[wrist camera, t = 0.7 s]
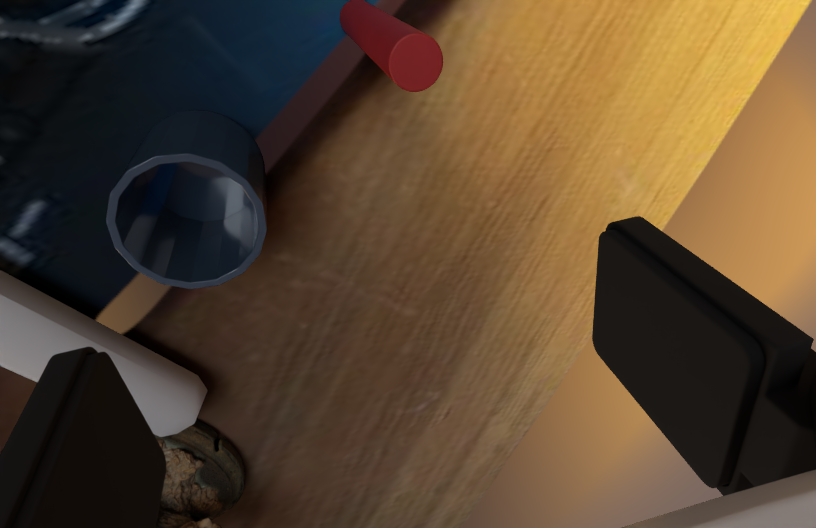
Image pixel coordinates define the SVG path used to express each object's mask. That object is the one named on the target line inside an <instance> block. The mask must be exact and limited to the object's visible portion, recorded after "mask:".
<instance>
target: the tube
mask: <svg viewBox="0 0 816 528" xmlns="http://www.w3.org/2000/svg"><path fill="white" fill-rule="evenodd" d="M88 346H89V347H93V348H94V349H95V350H96V351H97V352H98V353H99V352H106V353H107V354H108V355H109V356H110V357H111V359H112V361H113V363H114V364H115V366H116V368H117V370H118V372H119V373H120V375H121V377H122V379H123V380H124V382H125V384H126V386H127V388H128V389H129V391H130V393H131V395H132V396H133V398H134V400H135V402H136V404H137V405H138V407H139V409H140V411H141V413H142V414H143V416H144V418H145V420H146V421H147V423H148V425H149V427H150V429H151V430H152V432H153V434H155V435H157V436H159V437H164V436H169V435H173V434H177V433H179V432H181V431H182V430H184V429H186V428H188V427H189V426H191V425H193V424H194V423H195V421H196V418H197V416H198V413H199V411H200V408H201V406H202V403H203V401H204V398H205V396H206V393H207V391H208V390H207V388H206V387H205V385H204V384H203V382H202V381H201V379H200V378H199V376H198V375H196V374H194V373H192V372H190V371H189V370H187V369H185V368H183V367H181V366H179V365H177V364H175V363H174V362H172V361H170V360H168V359H166V358H164V357H162V356H160V355H159V354H157V353H155V352H153V351H151V350H149V349H147V348H145V347H144V346H142V345H140V344H138V343H136V342H134V341H132V340H130V339H129V338H127V337H125V336H123V335H121V334H119V333H117V332H115V331H114V330H111V329H110V328H108V327H106V326H104V325H102V324H101V323H99V322H97V321H95V320H93V319H91V318H89V317H87V316H86V315H84V314H82V313H80V312H78V311H76V310H74V309H72V308H71V307H69V306H67V305H65V304H63V303H61V302H59V301H57V300H56V299H54V298H52V297H50V296H48V295H46V294H44V293H43V292H41V291H39V290H37V289H35V288H33V287H31V286H29V285H28V284H26V283H24V282H22V281H20V280H18V279H16V278H14V277H13V276H11V275H9V274H7V273H5V272H3V271H1V270H0V366H2V367H4V368H6V369H9V370H11V371H13V372H15V373H18V374H20V375H22V376H24V377H27V378H29V379H31V380H33V381H36V382H38V381H39V379H40V377H41V375H42V373H43V371H44V369H45V367H46V365H47V363H48V361H49V360H50V358H51V357H52V356H53V355H55V354H59V353H63V352H67V351H71V350H76V349H80V348H84V347H88Z"/></svg>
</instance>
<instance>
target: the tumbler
mask: <svg viewBox="0 0 816 528" xmlns="http://www.w3.org/2000/svg"><path fill="white" fill-rule="evenodd" d="M106 223H107V226H108V229H109V232H110V235H111V238H112V241H113V244H114V247H115V248H116V250H117V251H118V252H119V253H120V254H121V255H122V256H123V257H124V258H125V260H126V261H127V262H128V263H129V264H130V265H131V266H132V267H133V268H134V269H135V270H136V271H138V272H140V273H142V274H144V275H146V276H148V277H149V278H151V279H153V280H156V281H157V282H159V283H162V284H165V285H171V286H176V287H182V288H187V289H195V288H203V287H210V286H218V285H221V284H223V283H225V282H227V281H229V280H231V279H233V278H235V277H237V276H238V275H240V274H242V273H244V272H245V271H246V269H247V268H248V267H249V266H250V265H251V264H252V263H253V261H254V260H255V259H256V258H257V257H258V256H259V254H260V253H261V249H262V246H263V242H264V239H265V235H266V232H267V204H266V174H265V167H264V161H263V156H262V154H261V151H260V149H259V147H258V145H257V143H256V142H255V140H254V139H253V137H252V136H251V135H250V134H249V133H248V132H247V131H246V130H245V129H244V128H243V127H242V126H241V125H239V124H238V123H236V122H235V121H233V120H232V119H230V118H228V117H226V116H223V115H221V114H218V113H215V112H210V111H204V110H188V111H182V112H178V113H174V114H172V115H170V116H167V117H166V118H164V119H162V120H161V121H159V122H158V123H157V124H156V125H154V126H153V127H152V129H151V130H150V131H149V132H148V134H147V135H146V137H145V138H144V139H143V141H142V142H141V143H140V145H139V147H138V148H137V150H136V152H135V153H134V155H133V157H132V158H131V160H130V161H129V163H128V165H127V166H126V168H125V170H124V171H123V173H122V175H121V176H120V178H119V179H118V181H117V183H116V184H115V186H114V188H113V189H112V191H111V193H110V196H109V202H108V209H107V216H106Z"/></svg>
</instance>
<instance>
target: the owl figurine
mask: <svg viewBox="0 0 816 528" xmlns="http://www.w3.org/2000/svg"><path fill="white" fill-rule="evenodd" d="M154 436H155V437H156V439H157V441H158V443H159V445H160V446H161V448H162V450H163V452H164V455H165V459H166V475H165V480H164V486H163V491H162V496H161V502H160V507H159V513H158V518H157V523H156V528H221V526H220V525H219V524H216V523H212V522H211V520H212V519H214V518H216V517H218V516H220V515H221V514H223V513H225V512H226V511H227V510H229V509H230V508H232V507H233V506H234V505H235V504H236V503H237V501H238V500H239V499H240V497H241V495H242V493H243V488H244V481H245V477H244V476H245V474H244V472H245V471H244V467H243V462H242V459H241V458H240V456H239V454H238V452H237V451H236V450H235V449H234V448H233V447H232V446H231V445H230V444H229V443H228V441H227V440H226V439H225V438H224V437H223V438H220V441H219V451H218V452H215V447H214V440H215V439H217V436H218V435H217V433H216V432H215V431H214V430H213V429H212V428H210V427H209V426H208V425H206V424H204V423H202V422H200V421H198V420H196V421H195V423H194V424H193V425H191V426H189V427H188V428H186V429H184V430H182V431H181V432H179V433H177V434H173V435H169V436H164V437H159V436H157V435H155V434H154Z"/></svg>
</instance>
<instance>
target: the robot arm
mask: <svg viewBox="0 0 816 528" xmlns="http://www.w3.org/2000/svg"><path fill="white" fill-rule="evenodd" d="M592 339H593V344H594V347H595V350H596V352H597V353H598V355H599V356H600V357H601V359H602V360H603V361H604V362H605V364H606V365H607V366H608V367H609V368H610V370H611V371H612V372H613V373H614V374H615V375H616V377H617V378H618V379H619V381H620V382H621V383H622V384H623V385H624V387H625V388H626V389H627V390H628V391H629V393H630V394H631V395H632V396H633V397H634V399H635V400H636V401H637V402H638V403H639V404H640V406H641V407H642V408H643V410H644V411H645V412H646V413H647V414H648V416H649V417H650V418H651V419H652V421H653V422H654V423H655V424H656V425H657V427H658V428H659V429H660V430H661V431H662V433H663V434H664V435H665V436H666V438H667V439H668V440H669V441H670V442H671V444H672V445H673V446H674V447H675V448H676V450H677V451H678V452H679V453H680V455H681V456H682V457H683V458H684V459H685V461H686V462H687V463H688V464H689V465H690V467H691V468H692V469H693V470H694V472H695V473H696V474H697V475H698V476H699V478H700V479H701V480H702V481H703V482H704V483H705V484H706V485H707V486H709V487H711V488H717V489H718V490H719V491H720V492H721V494H722V495H723V496H722V497H719V498H715V499H712V500H709V501H706V502H703V503H700V504H696V505H693V506H690V507H687V508H684V509H680V510H677V511H674V512H670V513H667V514H664V515H661V516H657V517H654V518H651V519H648V520H644V521H641V522H638V523H635V524H632V525H629V526H625V527H622V528H816V352H815V351H814V350H812V349H811V346H812V343H813V340H814V339H813V338H811V337H810V336H808V335H807V334H805V333H804V332H803V331H801V330H800V329H798V328H797V327H796V326H794V325H793V324H792V323H790V322H789V321H787V320H786V319H784V318H783V317H781V316H780V315H779V314H778V313H776V312H775V311H773V310H772V309H770V308H769V307H768V306H766V305H765V304H763V303H762V302H760V301H759V300H758V299H756V298H755V297H754V296H752V295H751V294H749V293H748V292H747V291H745V290H744V289H742V288H741V287H740V286H738V285H737V284H735V283H734V282H732V281H731V280H730V279H728V278H727V277H725V276H724V275H723V274H721V273H720V272H718V271H717V270H715V269H714V268H713V267H711V266H710V265H709V264H707V263H706V262H704V261H703V260H701V259H700V258H699V257H697V256H696V255H694V254H693V253H692V252H690V251H689V250H687V249H686V248H685V247H683V246H682V245H680V244H679V243H677V242H676V241H675V240H673V239H672V238H670V237H669V236H668V235H666V234H665V233H663V232H662V231H661V230H659V229H658V228H656V227H655V226H654V225H652V224H651V223H649V222H648V221H647V220H645V219H644V218H642V217H640V216H639V217H632V218H628V219H624V220H620V221H615V222H611V223H610V224H608V226H607V228H606V231H605V232H602V233H601V235H600V237H599V246H598V261H597V276H596V290H595V305H594V320H593V335H592ZM165 475H166V459H165V455H164V452H163V450H162V448H161V446H160V445H159V443H158V441H157V439H156V437H155V436H154V434H153V432H152V430H151V429H150V427H149V425H148V423H147V421H146V420H145V418H144V416H143V414H142V413H141V411H140V409H139V407H138V405H137V404H136V402H135V400H134V398H133V396H132V395H131V393H130V391H129V389H128V388H127V386H126V384H125V382H124V380H123V379H122V377H121V375H120V373H119V372H118V370H117V368H116V366H115V364H114V363H113V361H112V359H111V357H110V356H109V355H108V354H107V353H106V352H99V353H98V352H97V351H96V350H95V349H94V348H93V347H89V346H88V347H84V348H80V349H76V350H71V351H67V352H63V353H59V354H55V355H53V356H52V357H51V358H50V360H49V361H48V363H47V365H46V367H45V369H44V371H43V373H42V375H41V377H40V379H39V381H38V383H37V385H36V387H35V388H34V390H33V392H32V394H31V396H30V398H29V400H28V402H27V404H26V406H25V408H24V410H23V412H22V414H21V415H20V417H19V419H18V421H17V423H16V425H15V427H14V429H13V431H12V433H11V435H10V437H9V439H8V441H7V442H6V444H5V446H4V448H3V450H2V452H1V454H0V528H156V523H157V518H158V513H159V507H160V502H161V496H162V491H163V486H164V480H165Z"/></svg>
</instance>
